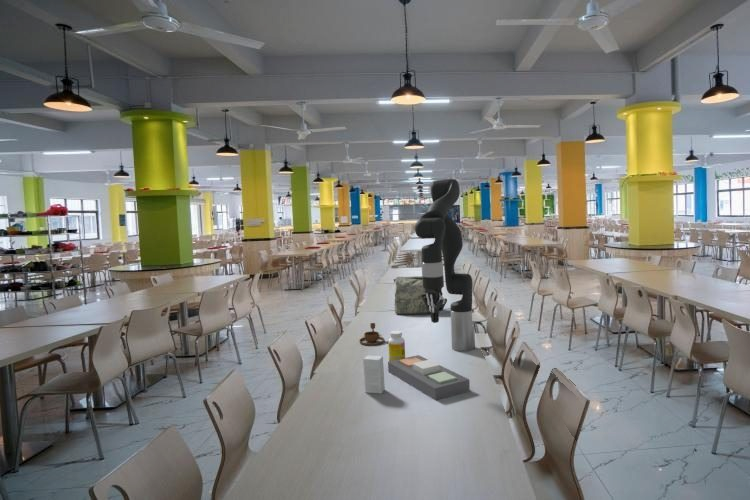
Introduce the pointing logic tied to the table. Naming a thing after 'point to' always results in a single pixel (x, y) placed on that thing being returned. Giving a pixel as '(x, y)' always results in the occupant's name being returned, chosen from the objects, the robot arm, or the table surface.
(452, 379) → the sage key
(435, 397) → the keypad
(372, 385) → the skincare box
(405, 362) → the terracotta key
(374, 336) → the place setting
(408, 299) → the lunch bag
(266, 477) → the table surface
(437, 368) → the grey key
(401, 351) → the supplement bottle
